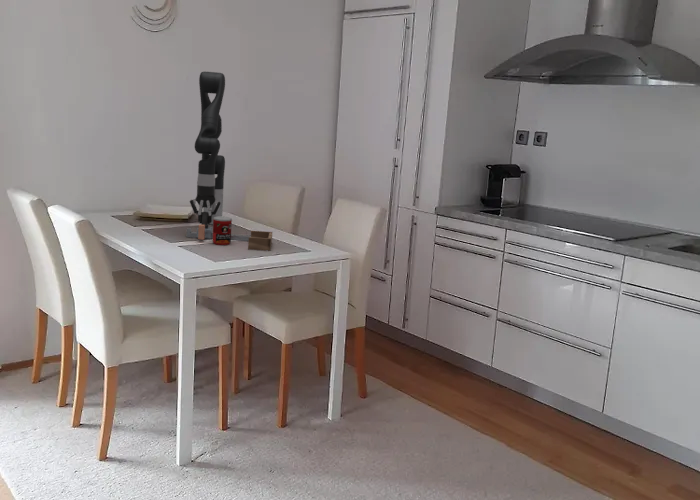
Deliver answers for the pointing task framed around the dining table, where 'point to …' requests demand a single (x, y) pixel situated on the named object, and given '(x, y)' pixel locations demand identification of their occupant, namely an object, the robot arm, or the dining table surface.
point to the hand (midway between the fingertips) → (204, 223)
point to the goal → (260, 240)
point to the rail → (194, 235)
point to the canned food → (222, 230)
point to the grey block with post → (204, 227)
